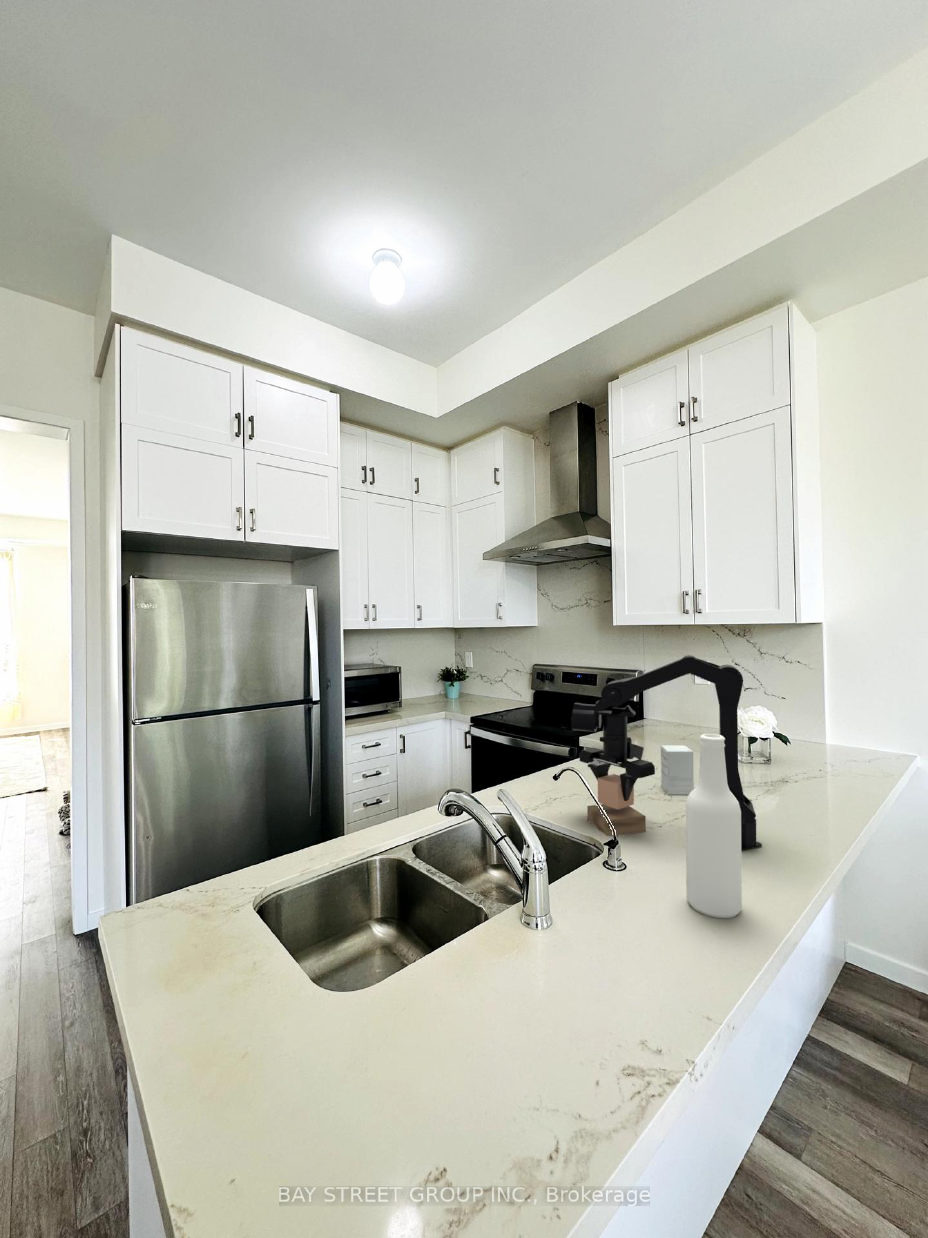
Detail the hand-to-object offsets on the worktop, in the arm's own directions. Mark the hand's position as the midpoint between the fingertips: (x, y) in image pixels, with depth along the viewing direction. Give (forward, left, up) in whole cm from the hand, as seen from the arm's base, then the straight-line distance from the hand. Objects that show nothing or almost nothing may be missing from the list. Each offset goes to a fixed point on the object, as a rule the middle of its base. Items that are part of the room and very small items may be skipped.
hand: (615, 797), depth 129 cm
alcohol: (-36, +5, -7) cm, 37 cm away
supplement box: (+16, -32, -7) cm, 36 cm away
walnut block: (0, 0, -7) cm, 7 cm away
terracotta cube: (0, 0, -2) cm, 2 cm away
